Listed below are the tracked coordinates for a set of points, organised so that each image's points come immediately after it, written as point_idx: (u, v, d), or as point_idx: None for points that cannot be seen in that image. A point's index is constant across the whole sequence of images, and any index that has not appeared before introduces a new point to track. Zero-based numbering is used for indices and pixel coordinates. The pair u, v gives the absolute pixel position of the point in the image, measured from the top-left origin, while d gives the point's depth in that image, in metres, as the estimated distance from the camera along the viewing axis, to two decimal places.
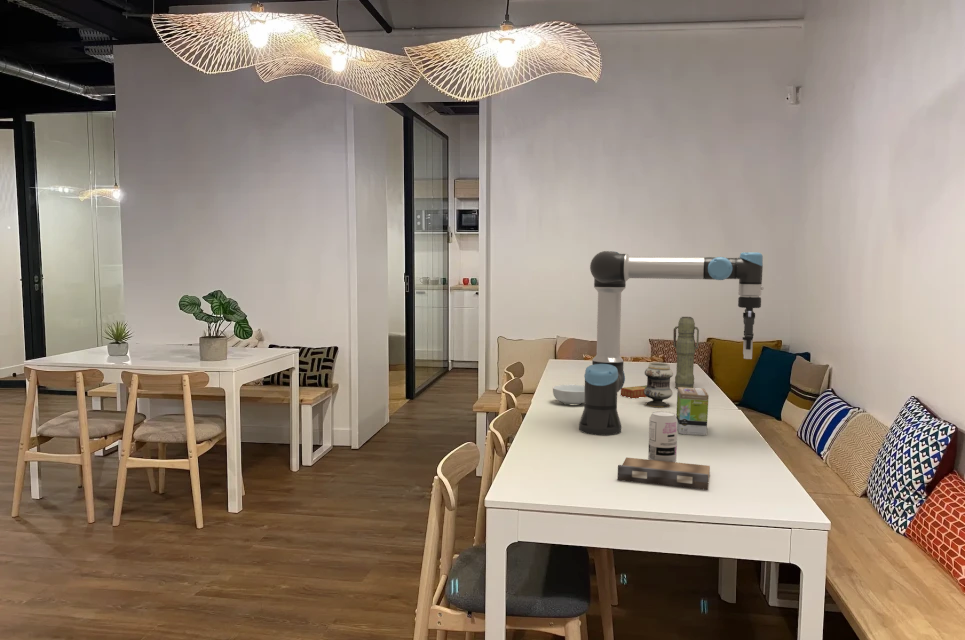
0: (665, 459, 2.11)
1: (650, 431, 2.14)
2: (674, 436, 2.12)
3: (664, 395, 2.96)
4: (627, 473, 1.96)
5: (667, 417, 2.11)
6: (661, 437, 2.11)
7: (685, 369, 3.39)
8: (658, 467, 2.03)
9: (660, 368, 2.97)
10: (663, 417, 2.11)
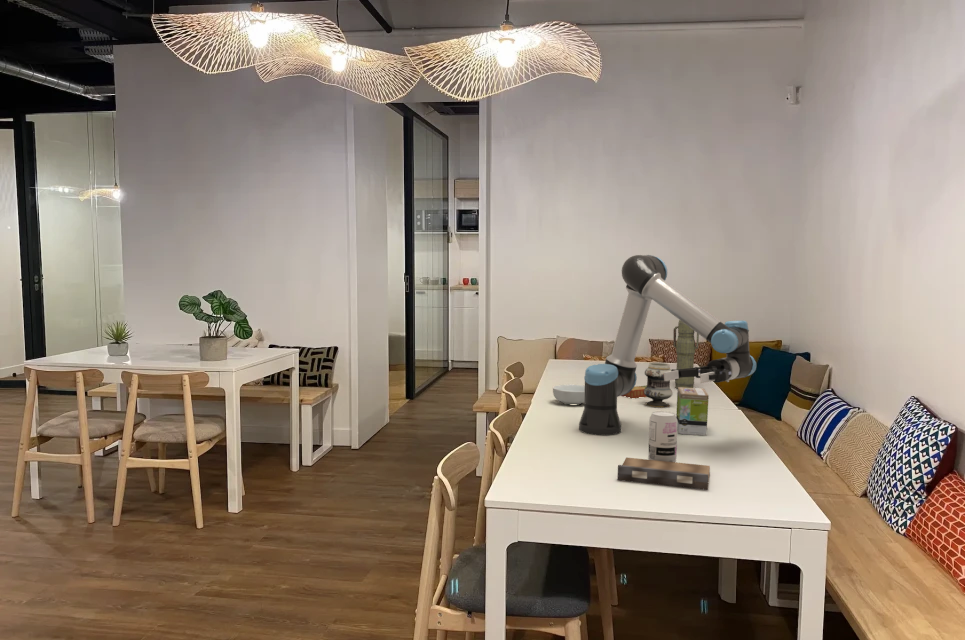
0: (665, 459, 2.11)
1: (650, 431, 2.14)
2: (674, 436, 2.12)
3: (664, 395, 2.96)
4: (627, 473, 1.96)
5: (667, 417, 2.11)
6: (661, 437, 2.11)
7: None
8: (658, 467, 2.03)
9: (660, 368, 2.97)
10: (663, 417, 2.11)
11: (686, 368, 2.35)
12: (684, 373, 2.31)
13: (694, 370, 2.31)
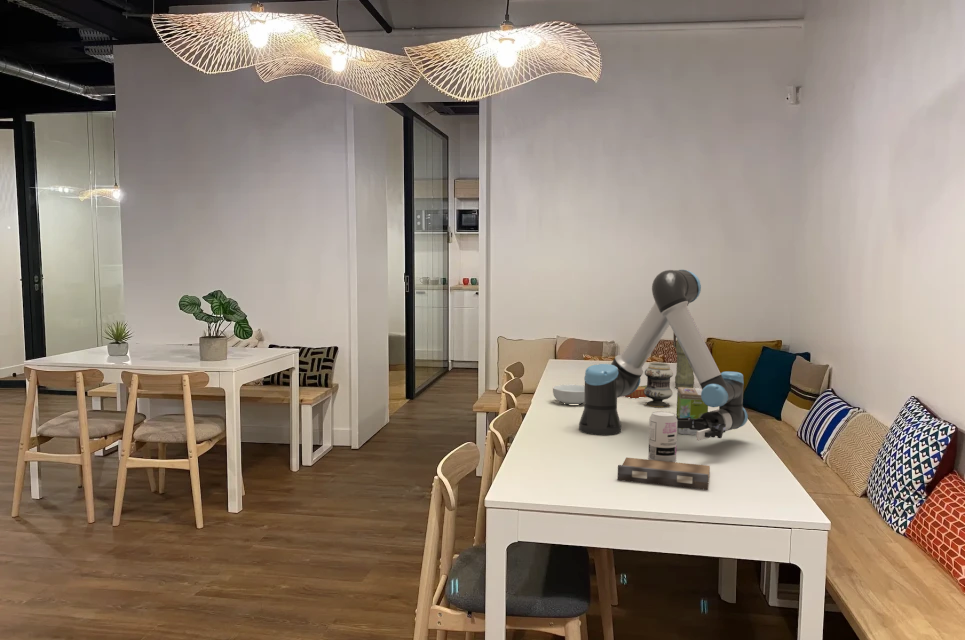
0: (665, 459, 2.11)
1: (650, 431, 2.14)
2: (674, 436, 2.12)
3: (664, 395, 2.96)
4: (627, 473, 1.96)
5: (667, 417, 2.11)
6: (661, 437, 2.11)
7: (685, 369, 3.39)
8: (658, 467, 2.03)
9: (660, 368, 2.97)
10: (663, 417, 2.11)
11: (680, 418, 2.33)
12: (678, 424, 2.29)
13: (688, 421, 2.29)
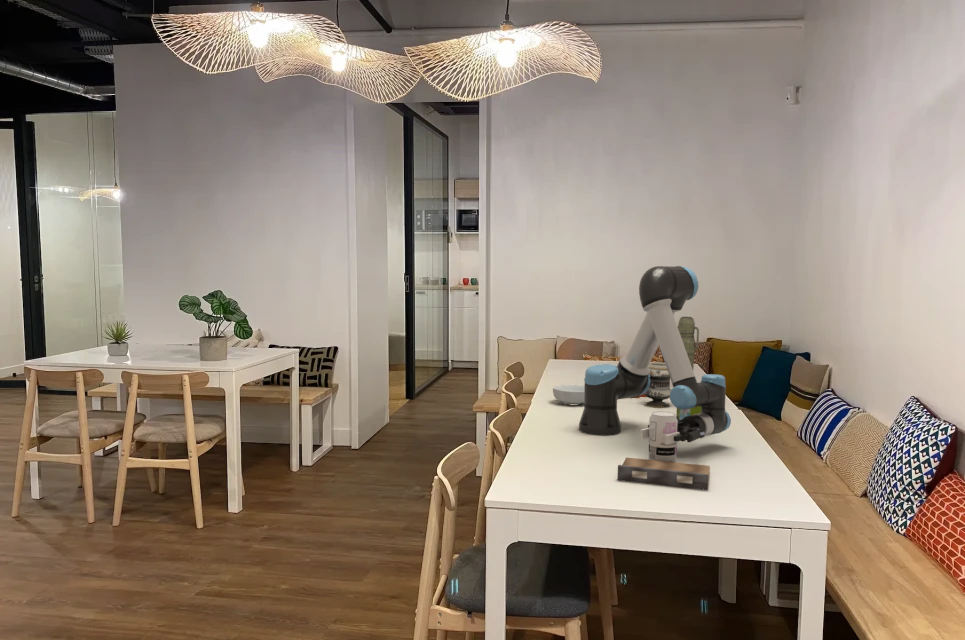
0: (665, 459, 2.11)
1: (650, 431, 2.14)
2: None
3: (664, 395, 2.96)
4: (627, 473, 1.96)
5: (667, 417, 2.11)
6: (661, 437, 2.11)
7: None
8: (658, 467, 2.03)
9: (660, 368, 2.97)
10: (663, 417, 2.11)
11: None
12: None
13: None
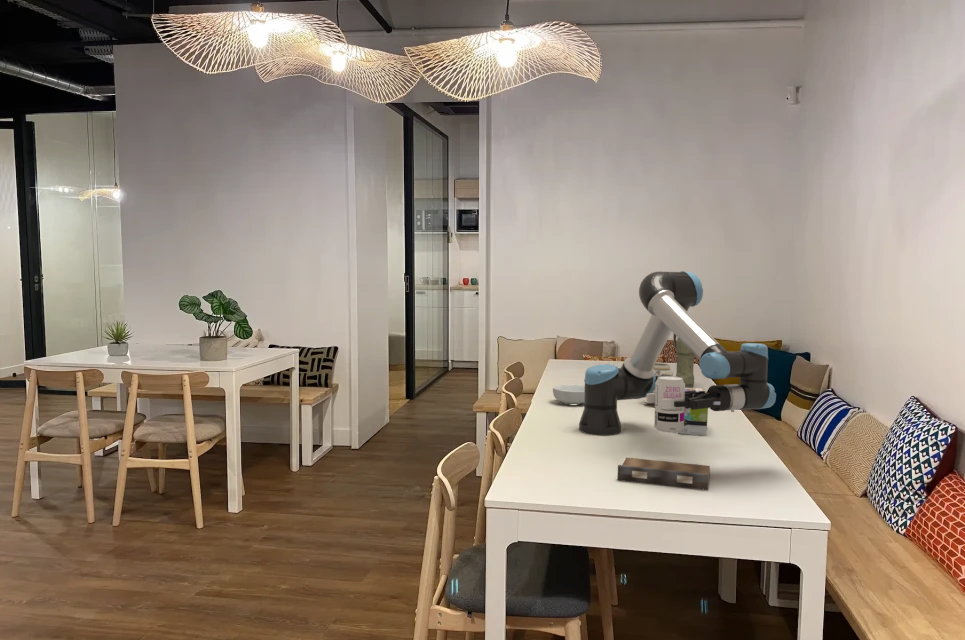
0: (666, 425, 1.99)
1: (655, 395, 2.03)
2: None
3: None
4: (627, 473, 1.96)
5: (668, 381, 1.98)
6: None
7: (685, 369, 3.39)
8: (658, 467, 2.03)
9: (660, 368, 2.97)
10: (664, 380, 1.99)
11: None
12: None
13: (688, 394, 2.06)
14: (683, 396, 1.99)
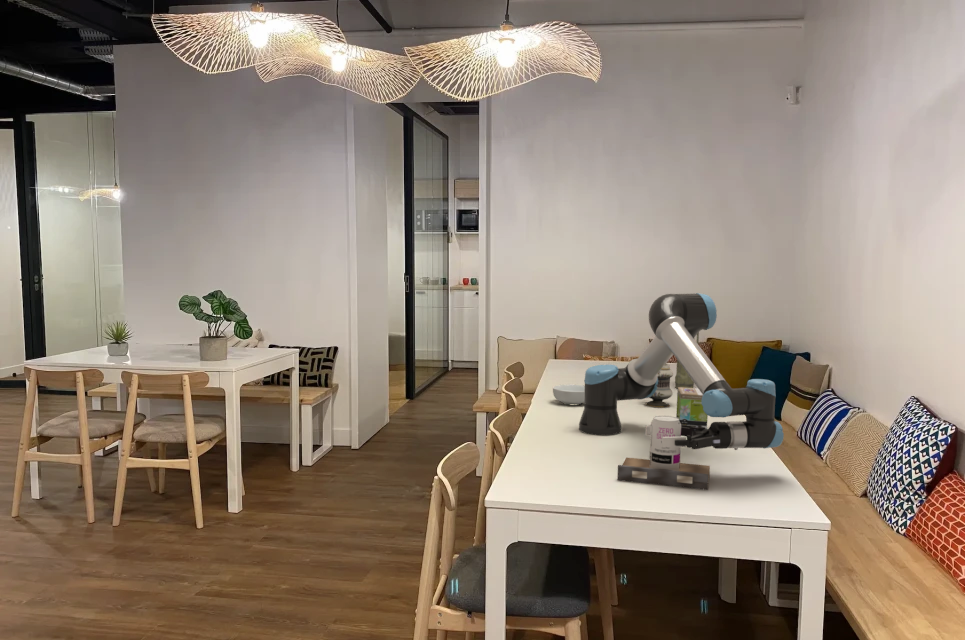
0: (659, 466, 1.96)
1: None
2: None
3: (664, 395, 2.96)
4: (627, 473, 1.96)
5: (662, 422, 1.95)
6: (655, 442, 1.97)
7: None
8: None
9: None
10: (658, 421, 1.96)
11: (686, 425, 2.07)
12: None
13: (687, 429, 2.03)
14: None
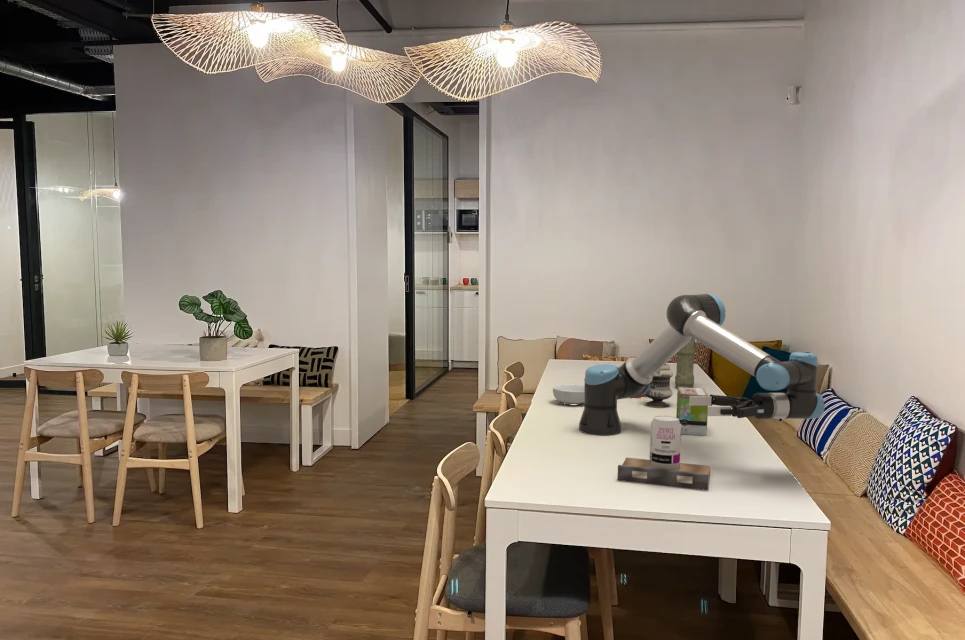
0: (658, 466, 1.96)
1: None
2: (670, 443, 1.95)
3: (664, 395, 2.96)
4: (627, 473, 1.96)
5: (662, 422, 1.95)
6: (655, 442, 1.97)
7: (685, 369, 3.39)
8: None
9: (660, 368, 2.97)
10: (658, 421, 1.96)
11: (729, 396, 2.13)
12: (719, 401, 2.11)
13: (730, 400, 2.09)
14: (678, 438, 1.96)
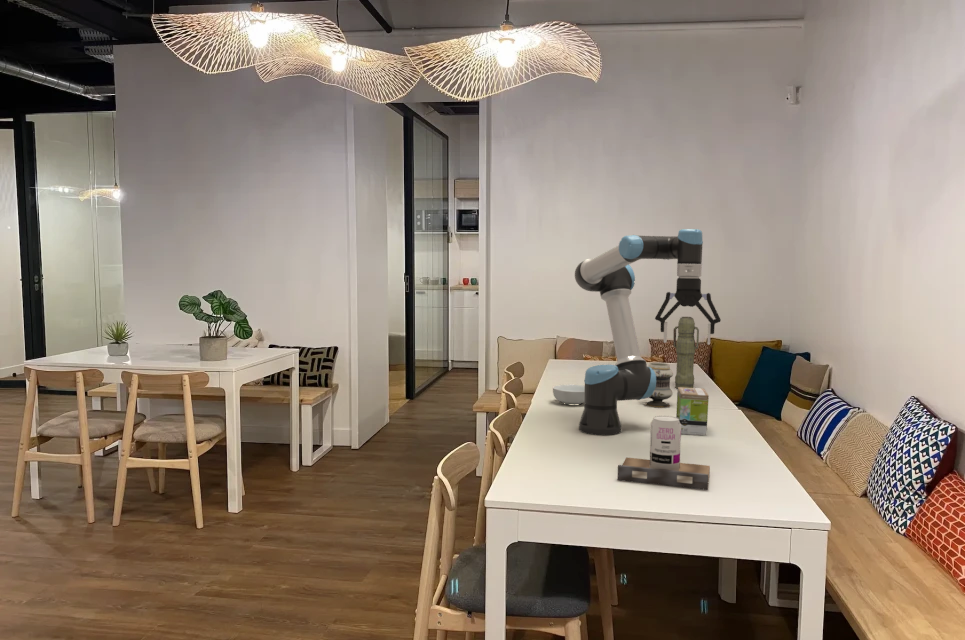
0: (658, 466, 1.96)
1: None
2: (670, 443, 1.95)
3: (664, 395, 2.96)
4: (627, 473, 1.96)
5: (662, 422, 1.95)
6: (655, 442, 1.97)
7: (685, 369, 3.39)
8: None
9: (660, 368, 2.97)
10: (658, 421, 1.96)
11: None
12: (706, 317, 2.26)
13: None
14: (678, 438, 1.96)
